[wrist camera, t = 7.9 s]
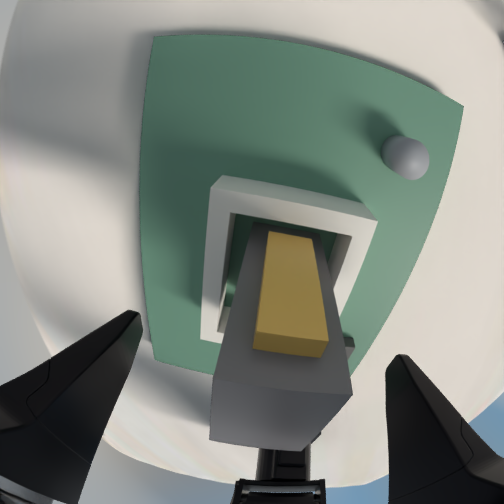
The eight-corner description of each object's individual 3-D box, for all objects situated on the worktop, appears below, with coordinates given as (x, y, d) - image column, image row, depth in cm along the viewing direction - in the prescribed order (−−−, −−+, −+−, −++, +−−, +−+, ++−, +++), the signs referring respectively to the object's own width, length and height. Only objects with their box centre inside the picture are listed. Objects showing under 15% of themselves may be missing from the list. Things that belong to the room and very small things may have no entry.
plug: (291, 324, 15) (288, 462, 8) (238, 315, 15) (208, 452, 8) (322, 221, 12) (364, 379, 5) (255, 208, 12) (214, 361, 5)
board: (337, 379, 19) (341, 413, 16) (159, 348, 19) (145, 380, 16) (450, 105, 9) (489, 109, 6) (164, 41, 9) (131, 26, 6)
